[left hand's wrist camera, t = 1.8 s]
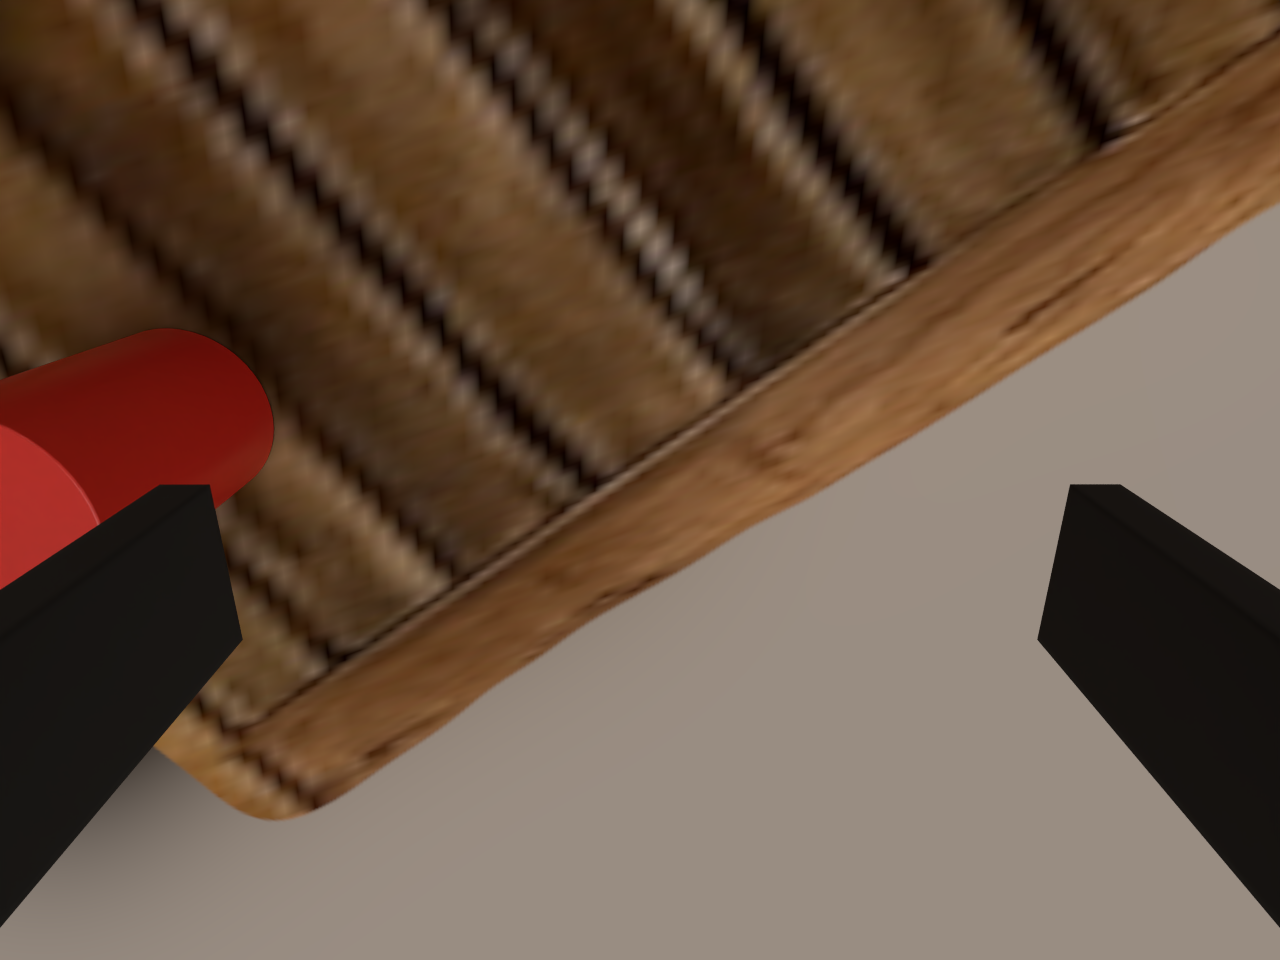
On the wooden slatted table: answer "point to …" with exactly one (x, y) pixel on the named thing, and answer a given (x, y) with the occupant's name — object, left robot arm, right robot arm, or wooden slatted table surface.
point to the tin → (121, 436)
